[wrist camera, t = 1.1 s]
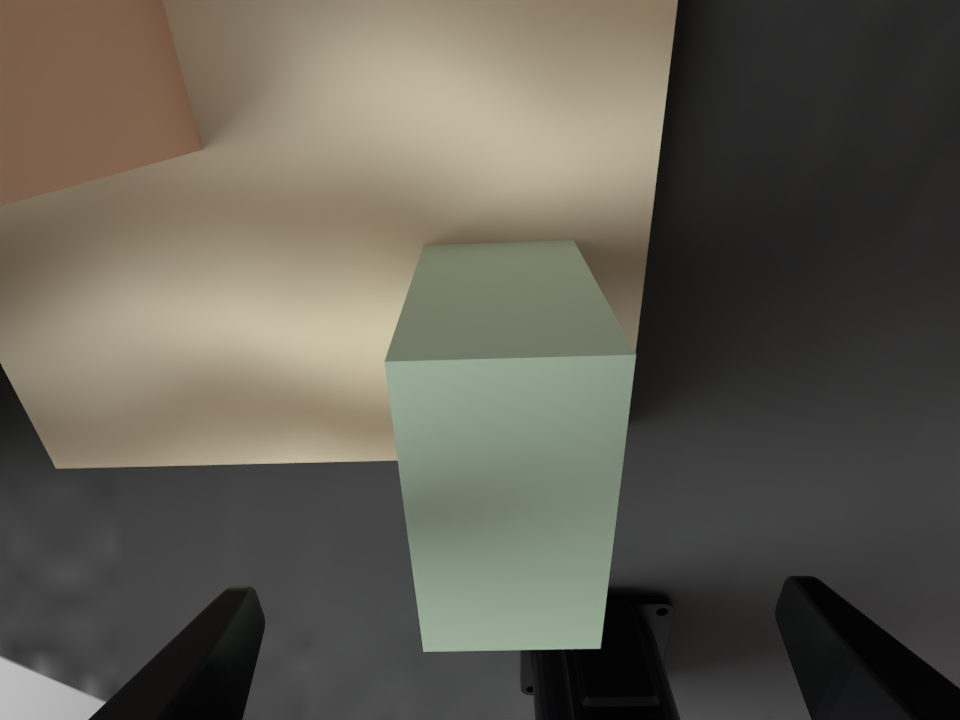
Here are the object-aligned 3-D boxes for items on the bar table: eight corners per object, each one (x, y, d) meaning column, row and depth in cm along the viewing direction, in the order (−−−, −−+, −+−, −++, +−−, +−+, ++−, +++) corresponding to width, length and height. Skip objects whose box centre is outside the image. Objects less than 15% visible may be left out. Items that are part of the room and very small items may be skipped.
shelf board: (613, 428, 19) (634, 486, 16) (85, 441, 19) (22, 500, 17) (673, -141, 12) (729, -203, 9) (-176, -103, 12) (-362, -152, 9)
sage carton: (575, 239, 14) (639, 354, 8) (563, 462, 18) (602, 648, 12) (421, 245, 14) (381, 361, 8) (440, 465, 18) (421, 651, 12)
